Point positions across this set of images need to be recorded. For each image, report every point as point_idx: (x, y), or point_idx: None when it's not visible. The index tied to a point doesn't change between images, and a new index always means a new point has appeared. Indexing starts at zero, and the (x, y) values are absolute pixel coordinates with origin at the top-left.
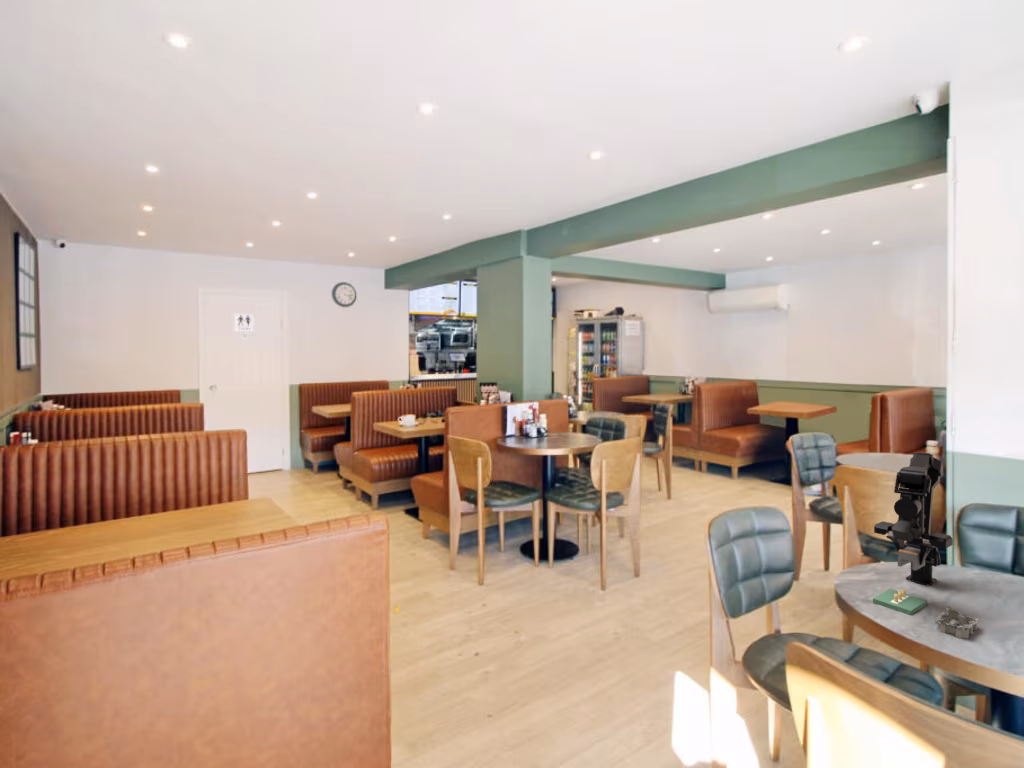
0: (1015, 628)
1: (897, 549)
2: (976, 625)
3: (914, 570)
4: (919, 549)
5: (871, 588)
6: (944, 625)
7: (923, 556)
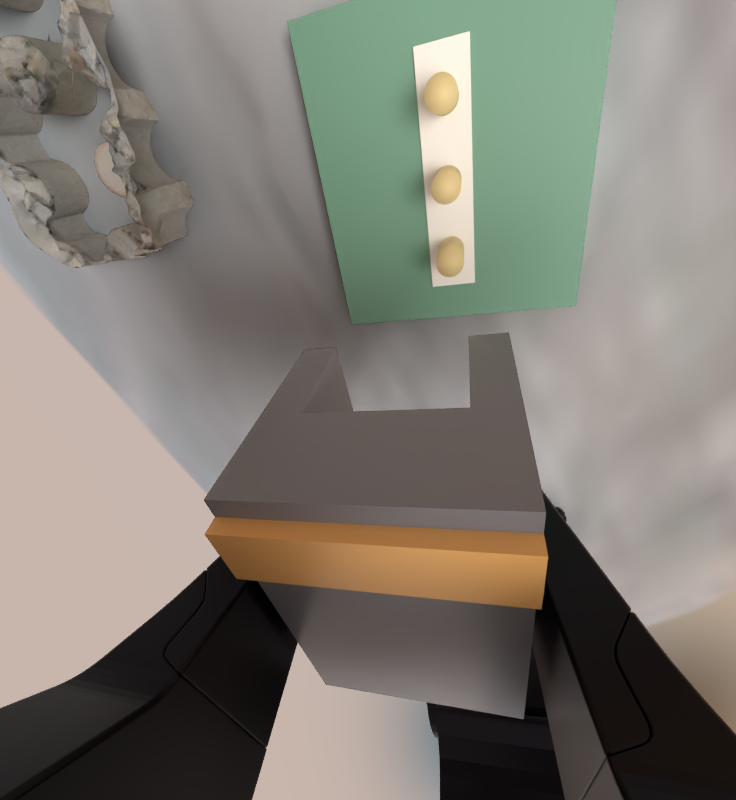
0: (93, 368)
1: (609, 606)
2: (72, 229)
3: None
4: (379, 689)
5: (702, 255)
6: None
7: (221, 558)
